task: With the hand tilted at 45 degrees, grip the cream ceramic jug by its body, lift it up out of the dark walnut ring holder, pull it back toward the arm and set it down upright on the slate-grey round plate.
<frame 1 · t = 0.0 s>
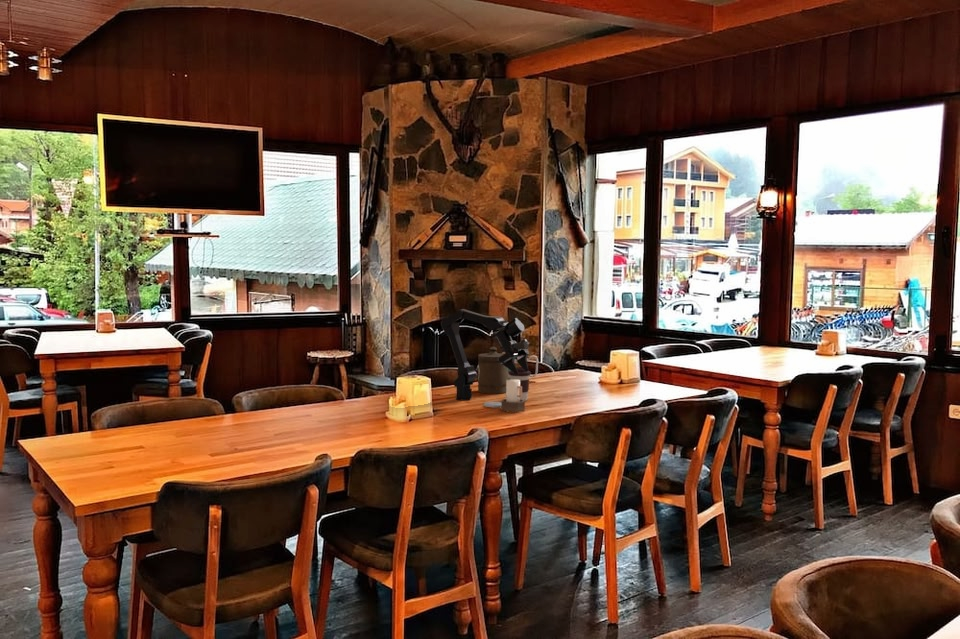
hand: (522, 372, 338), 15 cm above the table, tool tilted 35°, fingers open, 9 cm apart
coffee cup: (519, 400, 353), on the table
mug: (519, 381, 407), on the table
wooden container: (493, 391, 376), on the table
jug: (514, 395, 330), in the holder
plate: (495, 405, 339), on the table
holder: (513, 409, 331), on the table
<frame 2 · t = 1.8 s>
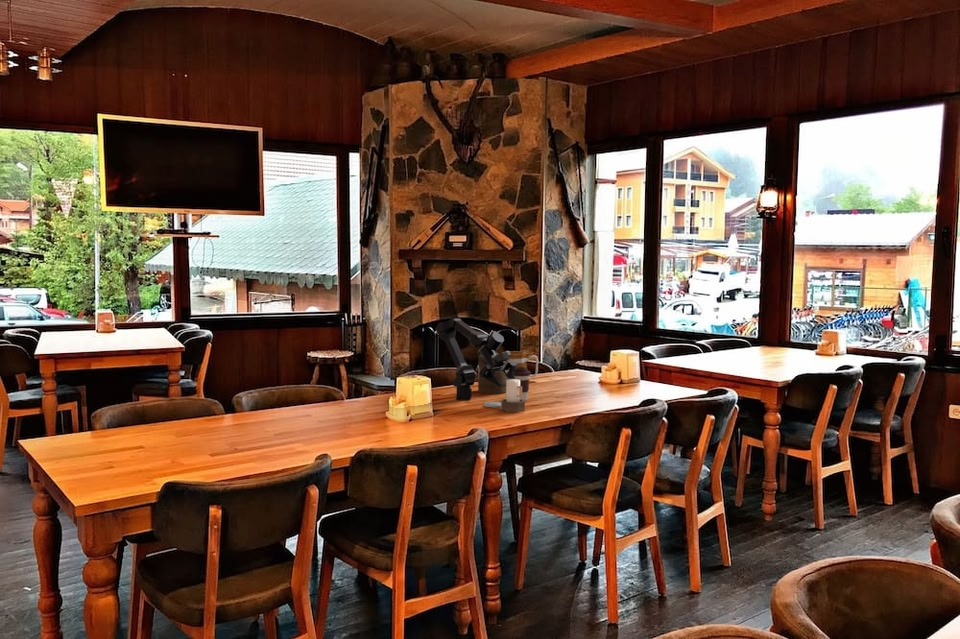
hand: (507, 384, 333), 11 cm above the table, tool tilted 45°, fingers open, 9 cm apart
nothing on the table moved.
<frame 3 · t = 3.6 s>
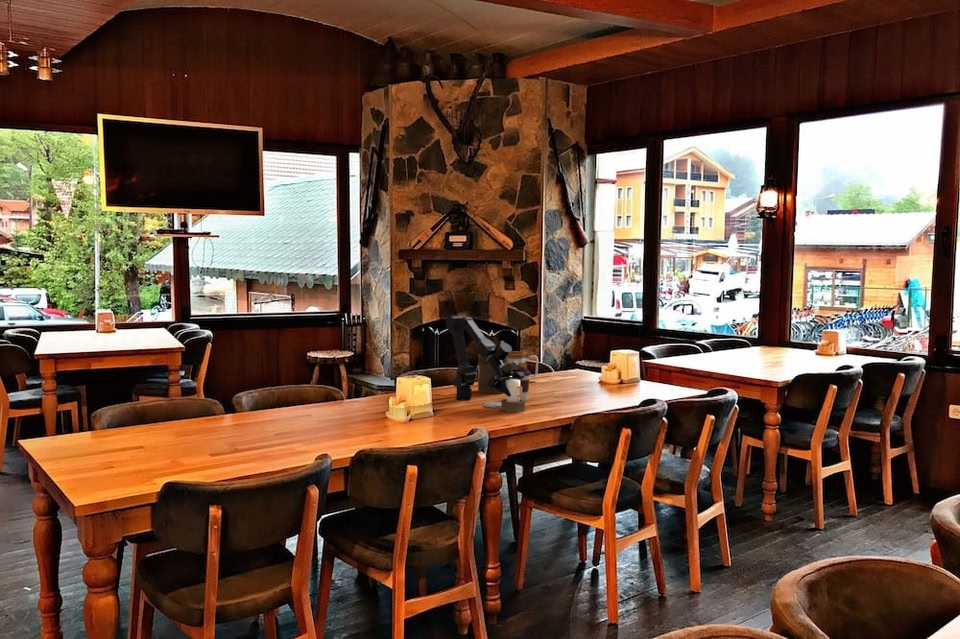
hand: (515, 395, 329), 7 cm above the table, tool tilted 45°, fingers closed on jug, 6 cm apart
jug: (514, 395, 330), in the holder, touching gripper
everything else where it was.
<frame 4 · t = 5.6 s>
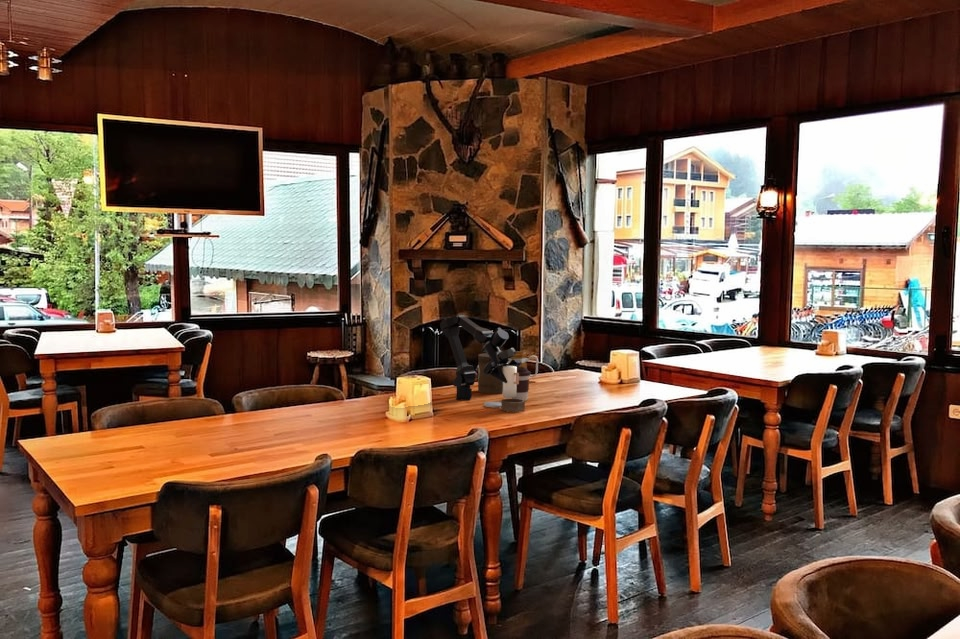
hand: (511, 381, 330), 12 cm above the table, tool tilted 45°, fingers closed on jug, 6 cm apart
jug: (511, 381, 331), point 12 cm above the table, touching gripper
everything else where it was.
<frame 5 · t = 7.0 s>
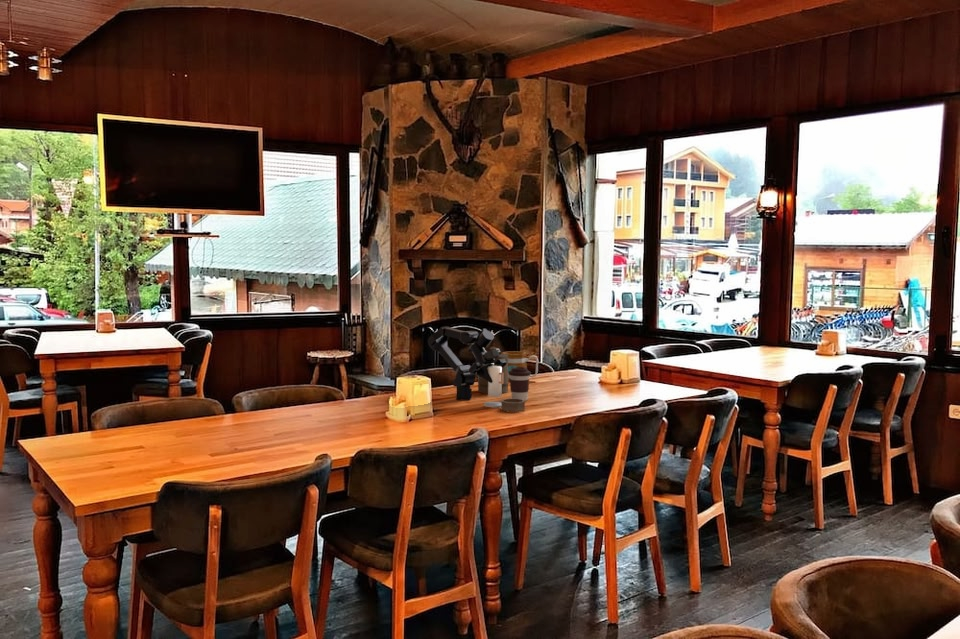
hand: (497, 381, 337), 11 cm above the table, tool tilted 45°, fingers closed on jug, 6 cm apart
jug: (496, 381, 338), point 11 cm above the table, touching gripper
everything else where it was.
when the fingers open (9 cm above the table, at t = 7.9 s): jug drops 1 cm, resting on plate.
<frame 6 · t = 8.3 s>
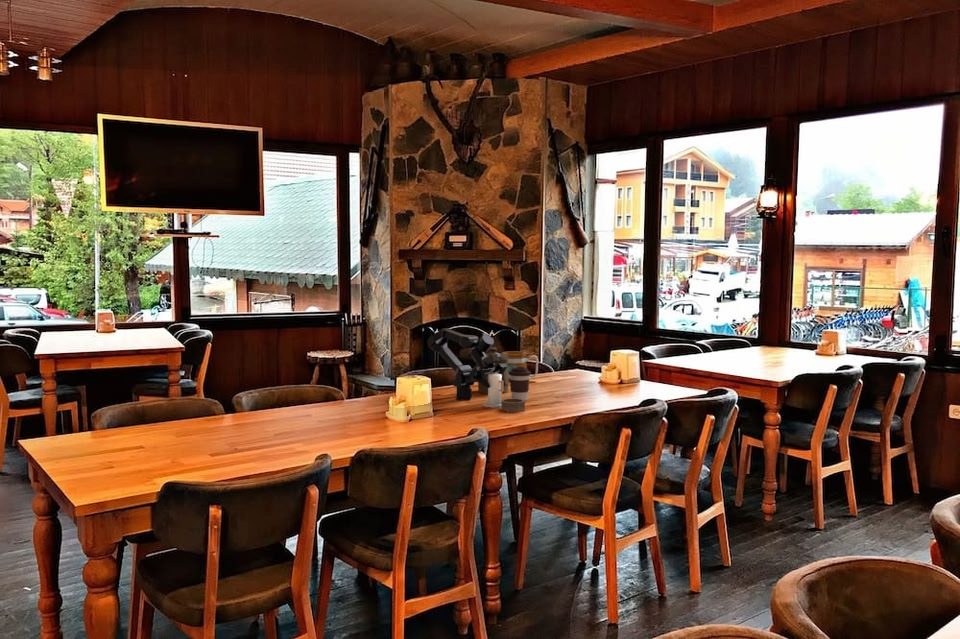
hand: (497, 386, 338), 9 cm above the table, tool tilted 45°, fingers open, 9 cm apart
jug: (496, 389, 338), on the plate, point 8 cm above the table
everything else where it was.
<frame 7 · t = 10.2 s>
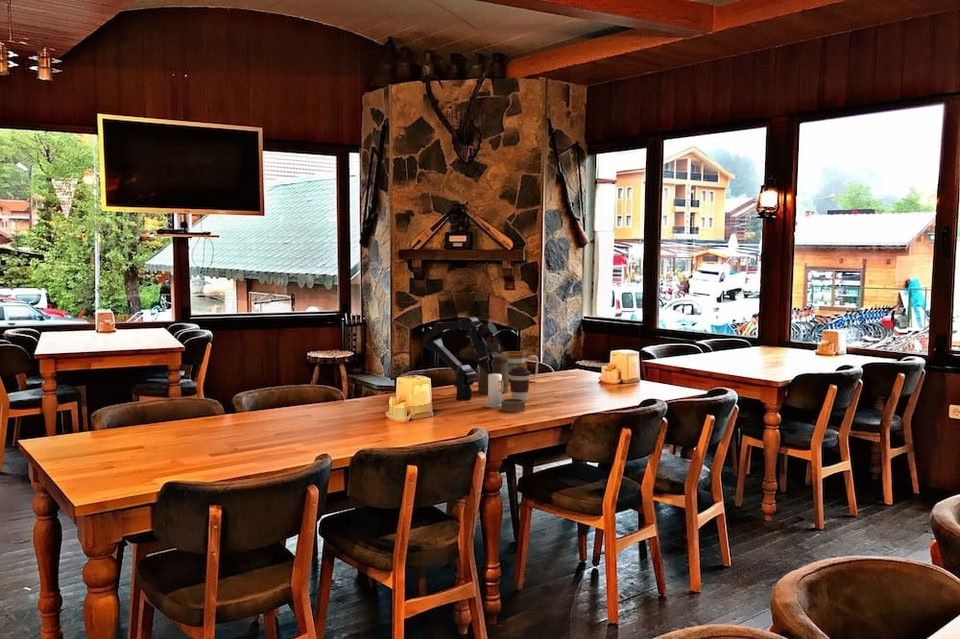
hand: (490, 374, 345), 13 cm above the table, tool tilted 25°, fingers open, 9 cm apart
nothing on the table moved.
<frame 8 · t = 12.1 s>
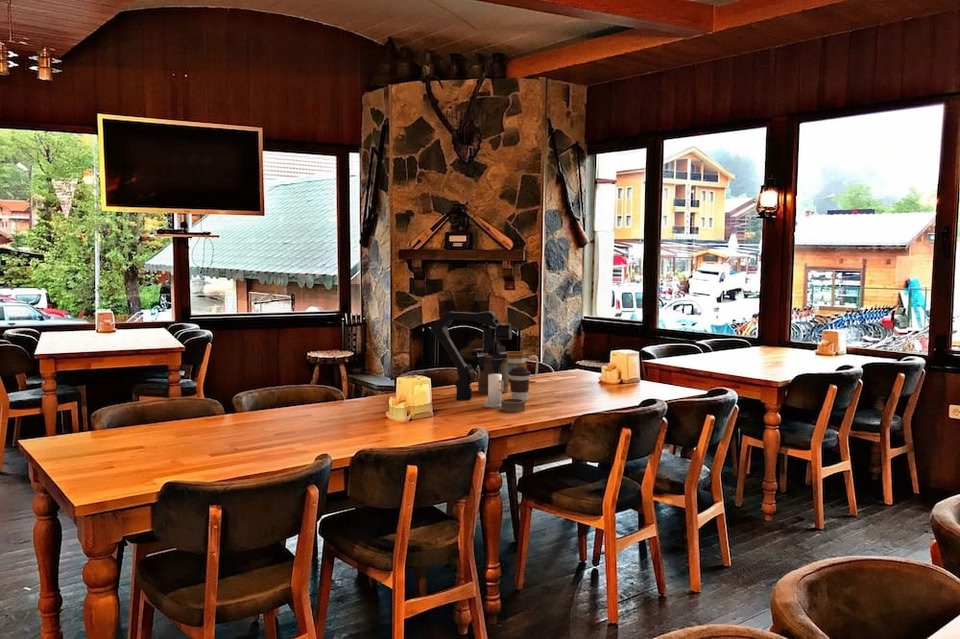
hand: (489, 372, 351), 13 cm above the table, tool pointing down, fingers open, 9 cm apart
nothing on the table moved.
at the end: jug 0.1 cm off-centre on the plate, point 7.5 cm above the plate's base; jug tilted 0°; the gripper is holding nothing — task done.
